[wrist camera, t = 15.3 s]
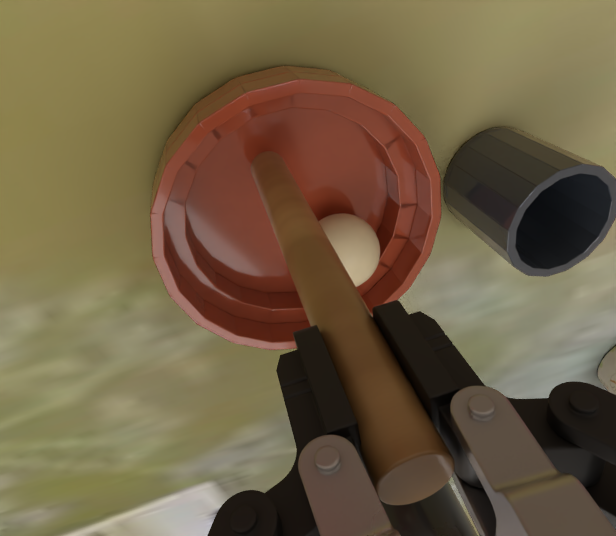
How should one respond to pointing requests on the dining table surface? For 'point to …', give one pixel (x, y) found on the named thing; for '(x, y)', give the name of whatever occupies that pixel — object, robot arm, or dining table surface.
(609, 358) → the mug
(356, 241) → the dough ball
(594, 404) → the robot arm
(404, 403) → the stick
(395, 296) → the bowl
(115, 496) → the dining table surface
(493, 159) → the tube
